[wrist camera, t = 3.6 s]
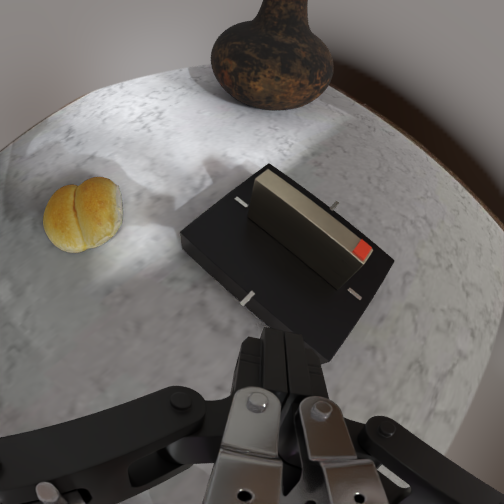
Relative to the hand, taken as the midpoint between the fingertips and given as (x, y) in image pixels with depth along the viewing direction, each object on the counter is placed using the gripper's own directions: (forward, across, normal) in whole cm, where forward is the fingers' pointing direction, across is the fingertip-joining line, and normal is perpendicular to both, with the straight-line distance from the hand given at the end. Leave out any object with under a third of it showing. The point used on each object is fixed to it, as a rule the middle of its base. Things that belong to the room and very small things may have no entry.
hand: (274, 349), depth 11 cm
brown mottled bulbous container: (+37, +5, -18) cm, 41 cm away
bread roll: (+16, +19, +2) cm, 25 cm away
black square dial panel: (+17, -2, +1) cm, 17 cm away
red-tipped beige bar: (+15, -2, -1) cm, 15 cm away
